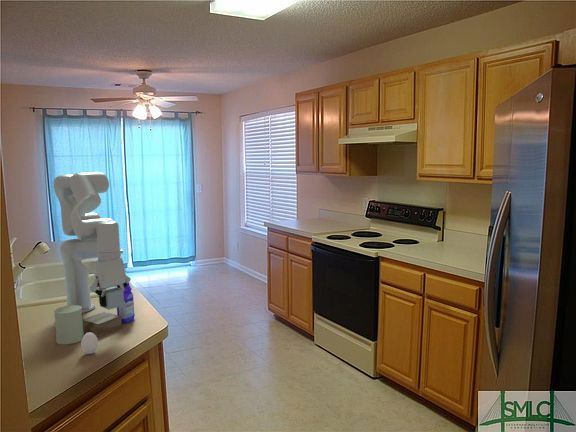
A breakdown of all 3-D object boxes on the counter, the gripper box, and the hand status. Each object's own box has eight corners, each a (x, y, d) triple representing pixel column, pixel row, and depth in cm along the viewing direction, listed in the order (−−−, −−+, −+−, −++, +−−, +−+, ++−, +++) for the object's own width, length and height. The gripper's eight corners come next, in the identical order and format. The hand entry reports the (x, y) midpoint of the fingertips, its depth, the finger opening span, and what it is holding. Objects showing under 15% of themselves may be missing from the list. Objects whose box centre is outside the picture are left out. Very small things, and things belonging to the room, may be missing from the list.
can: (54, 338, 163) (51, 307, 162) (81, 332, 169) (78, 302, 167) (59, 346, 156) (56, 313, 154) (87, 340, 161) (84, 308, 160)
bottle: (127, 324, 177) (125, 281, 175) (114, 323, 178) (112, 281, 176) (137, 318, 184) (134, 277, 182) (124, 317, 185) (122, 276, 183)
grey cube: (100, 306, 161) (99, 290, 160) (115, 301, 166) (114, 286, 165) (109, 309, 158) (108, 293, 157) (124, 305, 162) (123, 289, 161)
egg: (101, 350, 152) (100, 329, 152) (95, 356, 147) (93, 335, 146) (85, 350, 152) (84, 329, 151) (79, 357, 147) (77, 335, 146)
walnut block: (82, 332, 170) (81, 319, 169) (105, 323, 178) (104, 311, 178) (99, 337, 165) (98, 324, 164) (121, 328, 173) (120, 316, 173)
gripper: (124, 250, 168) (127, 295, 171) (80, 258, 155) (83, 308, 157) (136, 252, 164) (138, 299, 166) (91, 261, 150) (94, 312, 153)
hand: (111, 303), depth 162 cm, fingers closed on grey cube, 6 cm apart
